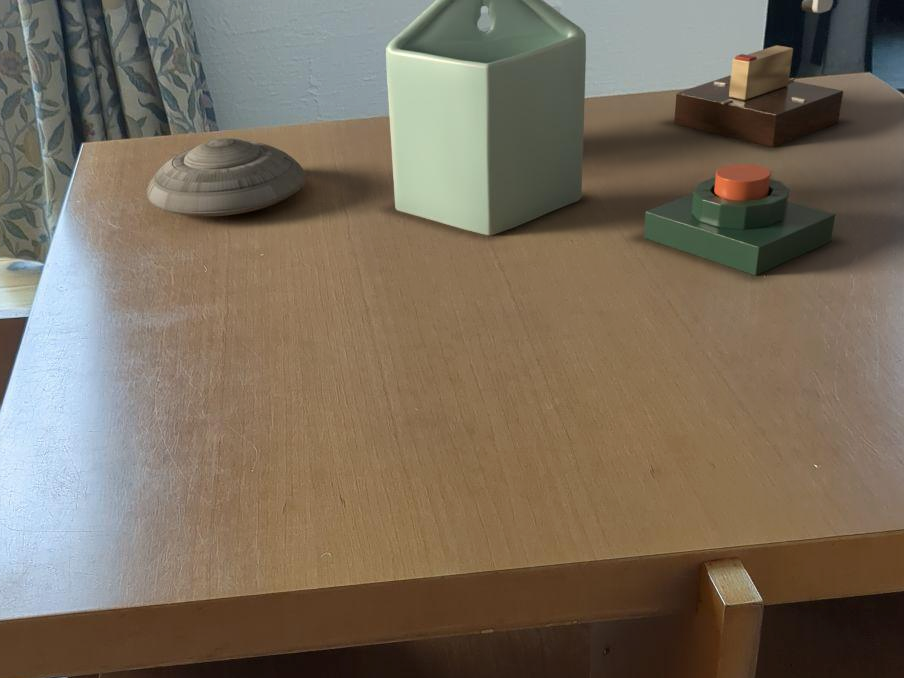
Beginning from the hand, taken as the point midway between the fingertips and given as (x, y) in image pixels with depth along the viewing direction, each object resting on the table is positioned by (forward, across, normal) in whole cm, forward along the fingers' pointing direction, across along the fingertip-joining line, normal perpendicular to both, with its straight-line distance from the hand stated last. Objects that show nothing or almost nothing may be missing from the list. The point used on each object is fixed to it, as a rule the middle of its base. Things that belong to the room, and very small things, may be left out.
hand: (765, 3), depth 90 cm
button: (+11, -6, +9) cm, 16 cm away
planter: (+15, +11, +19) cm, 27 cm away
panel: (+15, +12, -16) cm, 25 cm away
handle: (+12, +12, -16) cm, 23 cm away
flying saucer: (+15, +33, +32) cm, 49 cm away
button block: (+15, -6, +9) cm, 19 cm away
